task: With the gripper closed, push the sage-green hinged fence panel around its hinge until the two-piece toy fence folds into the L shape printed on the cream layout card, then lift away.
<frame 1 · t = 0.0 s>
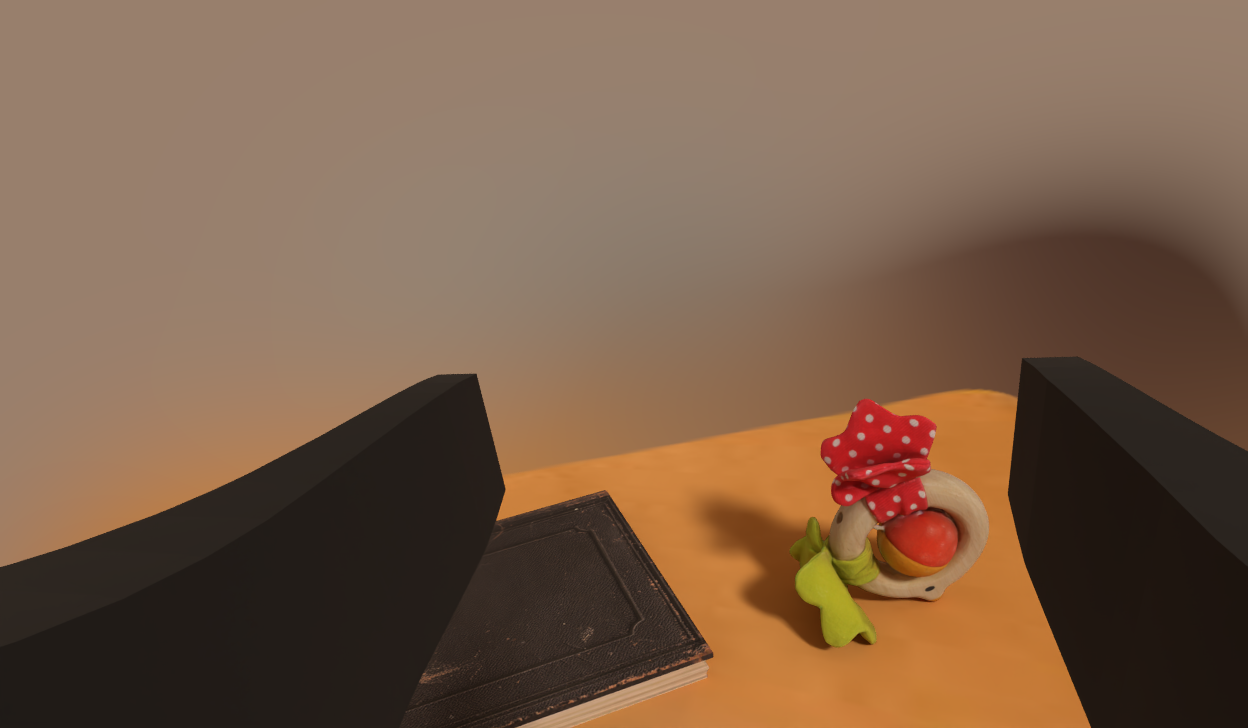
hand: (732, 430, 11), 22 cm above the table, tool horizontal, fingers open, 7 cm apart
bird rattle: (882, 608, 38), on the table
hardcover book: (442, 661, 40), on the table
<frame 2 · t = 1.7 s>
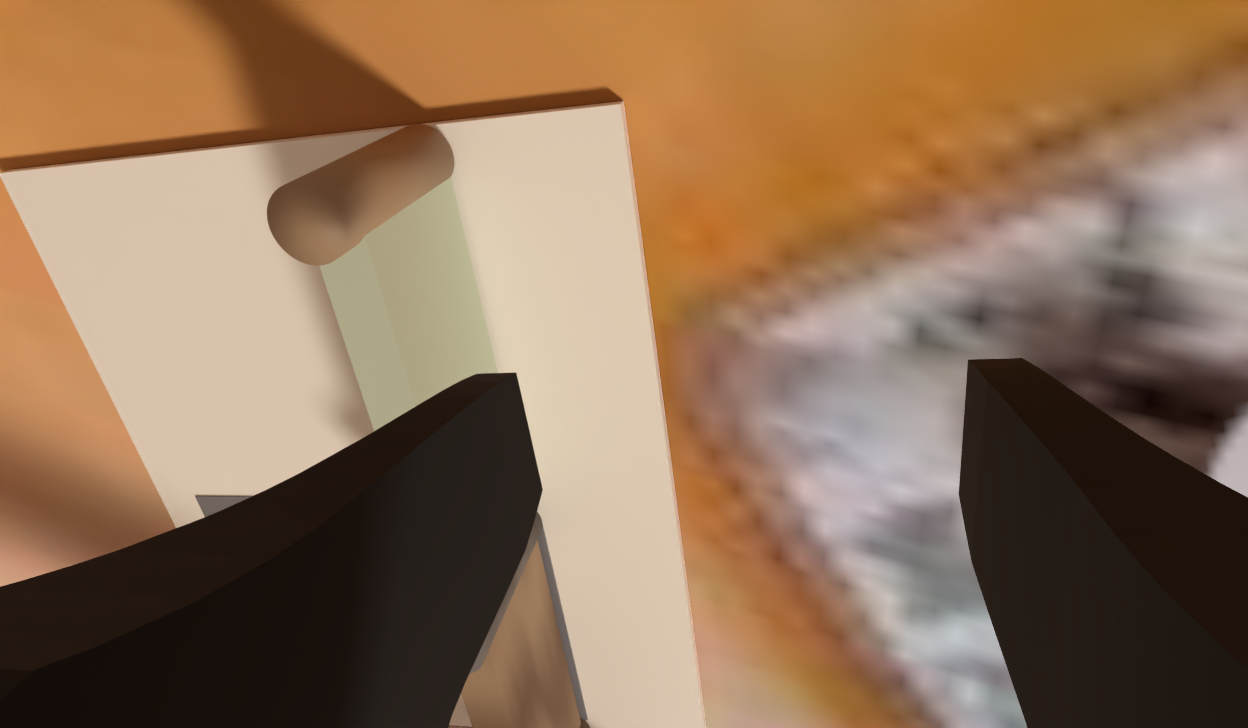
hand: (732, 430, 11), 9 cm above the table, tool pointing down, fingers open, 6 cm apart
fence panel: (427, 378, 19), point 3 cm above the table, hinge at 0.0°
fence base: (521, 512, 25), resting on layout card
layout card: (398, 485, 25), on the table
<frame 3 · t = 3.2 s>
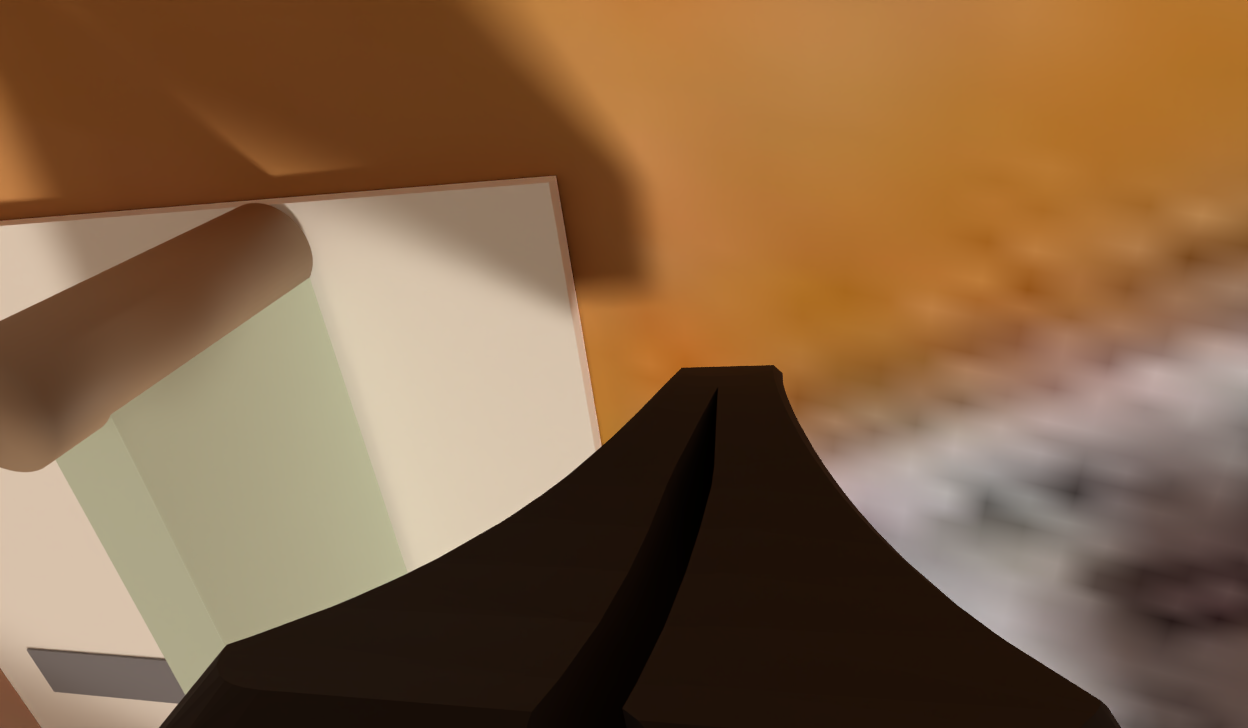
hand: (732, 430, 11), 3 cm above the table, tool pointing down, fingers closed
fence panel: (270, 572, 13), point 3 cm above the table, hinge at 0.0°
layout card: (281, 648, 19), on the table
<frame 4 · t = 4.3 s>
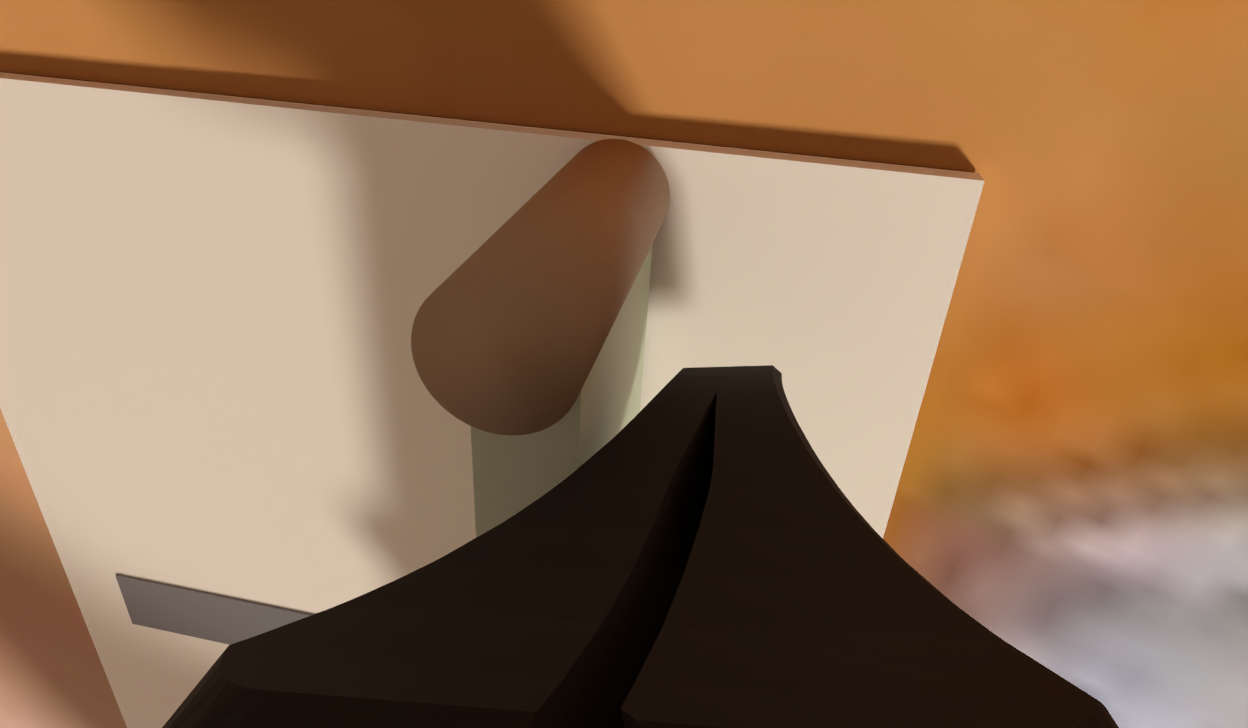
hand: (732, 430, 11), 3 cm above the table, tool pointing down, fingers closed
fence panel: (563, 557, 11), point 3 cm above the table, hinge at 0.0°, touching gripper
layout card: (424, 615, 18), on the table
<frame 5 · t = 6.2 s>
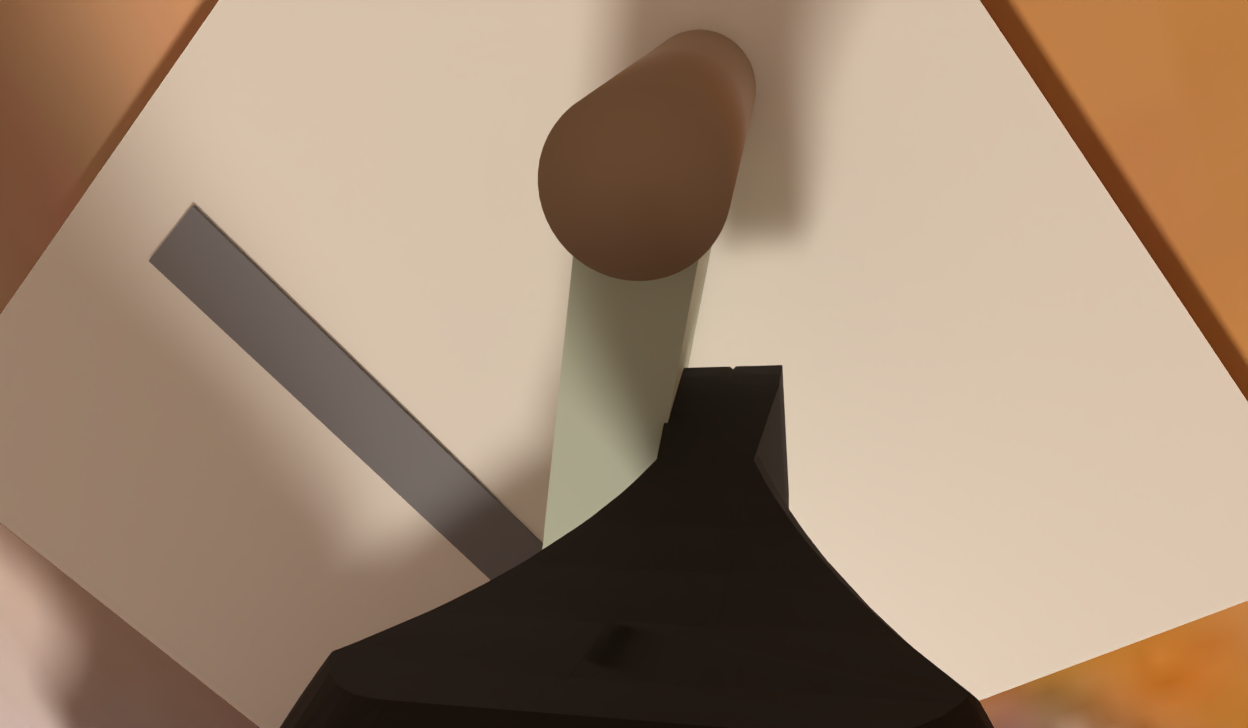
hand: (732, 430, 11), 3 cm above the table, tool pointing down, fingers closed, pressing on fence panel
fence panel: (619, 469, 11), point 3 cm above the table, hinge at 40.6°, touching gripper
layout card: (511, 482, 15), on the table
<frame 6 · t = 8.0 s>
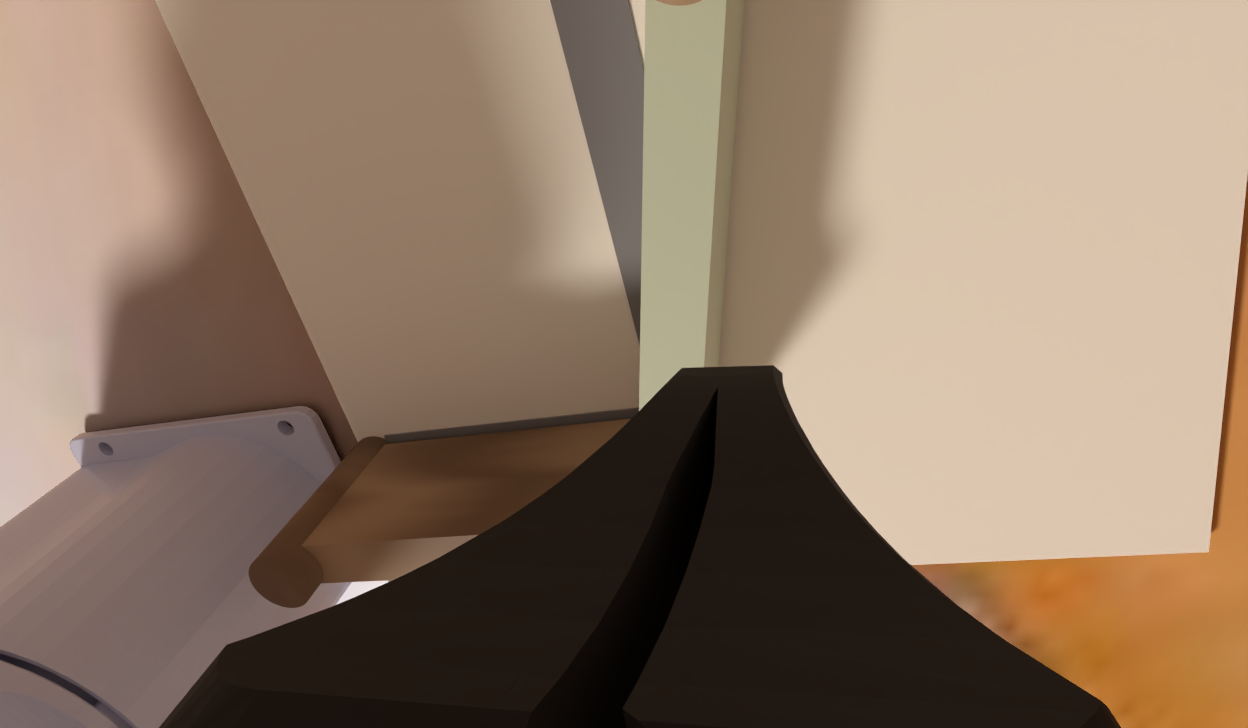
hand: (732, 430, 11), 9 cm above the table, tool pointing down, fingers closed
fence panel: (689, 218, 15), point 3 cm above the table, hinge at 75.7°
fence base: (693, 420, 21), resting on layout card
layout card: (701, 276, 19), on the table
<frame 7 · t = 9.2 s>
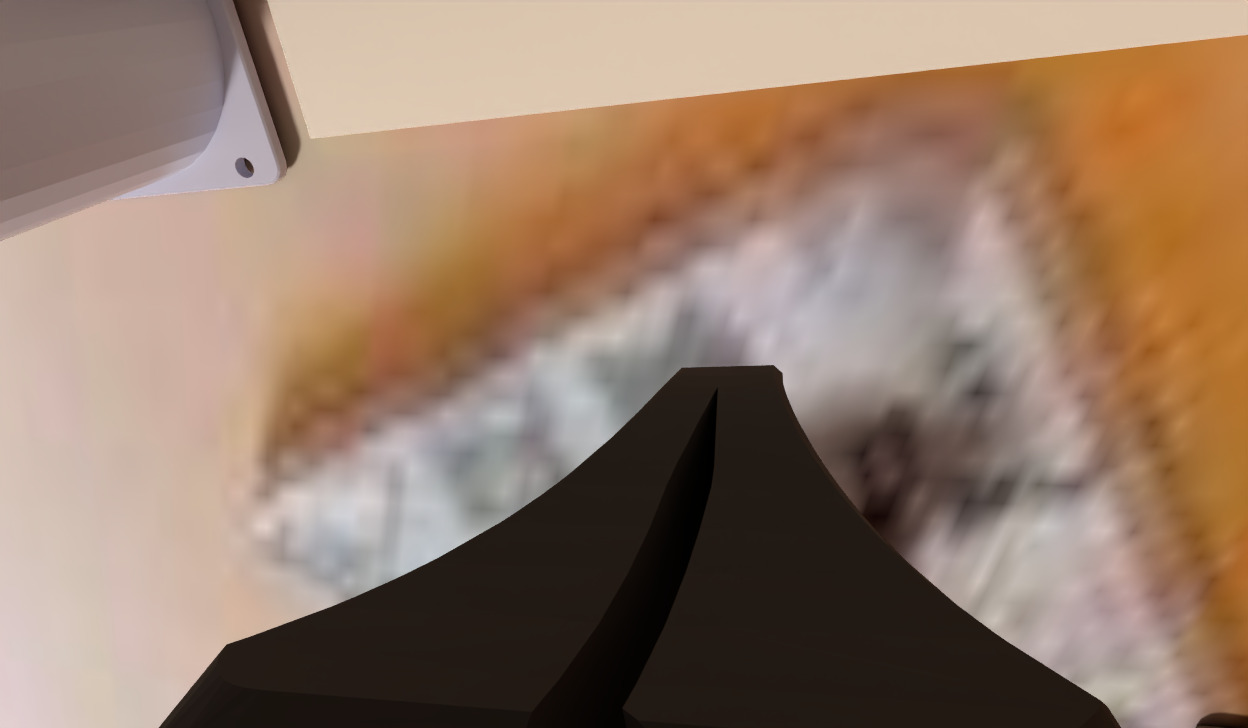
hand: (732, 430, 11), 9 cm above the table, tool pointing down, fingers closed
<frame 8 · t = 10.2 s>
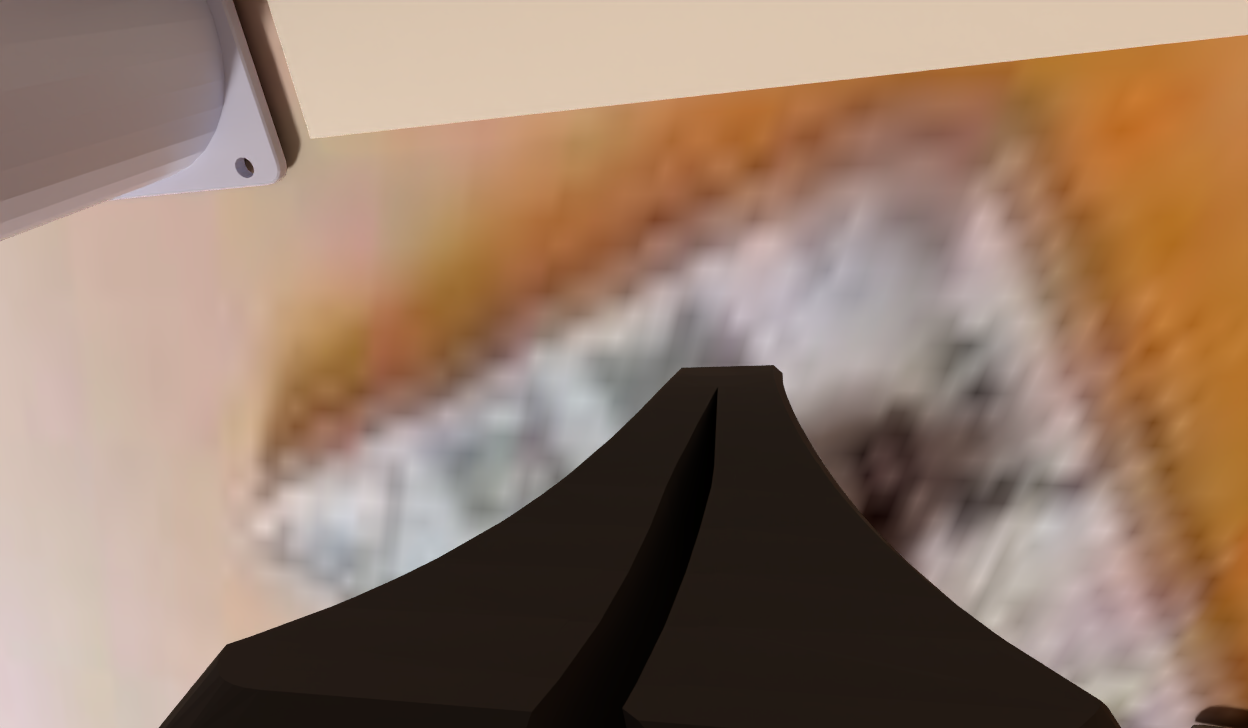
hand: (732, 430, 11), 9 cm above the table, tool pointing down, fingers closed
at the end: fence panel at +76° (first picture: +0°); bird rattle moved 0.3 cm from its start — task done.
